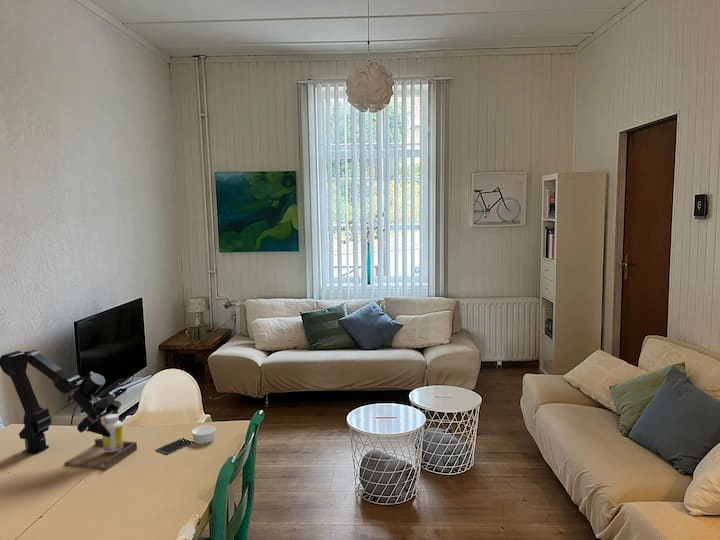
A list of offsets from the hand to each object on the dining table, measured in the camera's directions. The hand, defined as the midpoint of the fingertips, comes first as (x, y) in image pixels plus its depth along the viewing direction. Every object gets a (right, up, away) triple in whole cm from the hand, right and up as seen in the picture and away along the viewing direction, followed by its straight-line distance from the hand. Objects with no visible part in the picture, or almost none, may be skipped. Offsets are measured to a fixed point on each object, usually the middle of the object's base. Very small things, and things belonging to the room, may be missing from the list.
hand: (115, 432), depth 189 cm
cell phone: (+20, -8, +8) cm, 23 cm away
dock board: (-5, -9, -1) cm, 10 cm away
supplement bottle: (-1, -7, +1) cm, 7 cm away
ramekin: (+29, -7, +13) cm, 33 cm away
